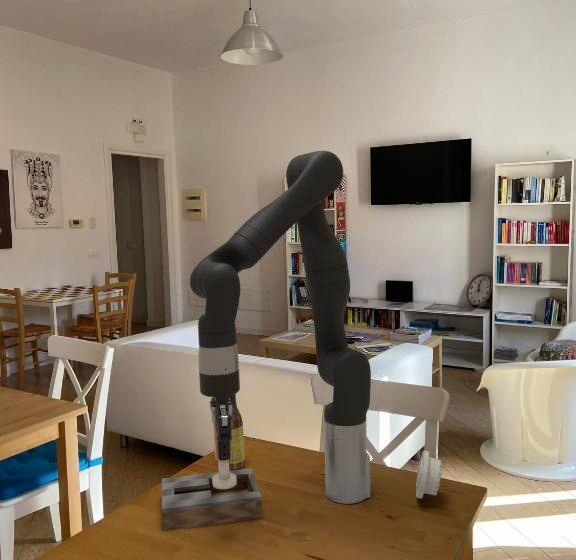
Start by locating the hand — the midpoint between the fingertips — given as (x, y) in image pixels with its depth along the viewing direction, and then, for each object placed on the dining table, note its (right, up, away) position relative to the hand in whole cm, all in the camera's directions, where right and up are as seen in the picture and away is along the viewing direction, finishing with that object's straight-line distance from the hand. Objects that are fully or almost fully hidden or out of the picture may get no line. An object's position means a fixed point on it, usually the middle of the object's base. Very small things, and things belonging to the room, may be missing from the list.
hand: (223, 455), depth 109 cm
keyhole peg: (0, -6, +1) cm, 6 cm away
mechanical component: (+42, -14, +15) cm, 47 cm away
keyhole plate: (-4, -15, +12) cm, 20 cm away
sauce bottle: (-2, -13, +33) cm, 36 cm away
